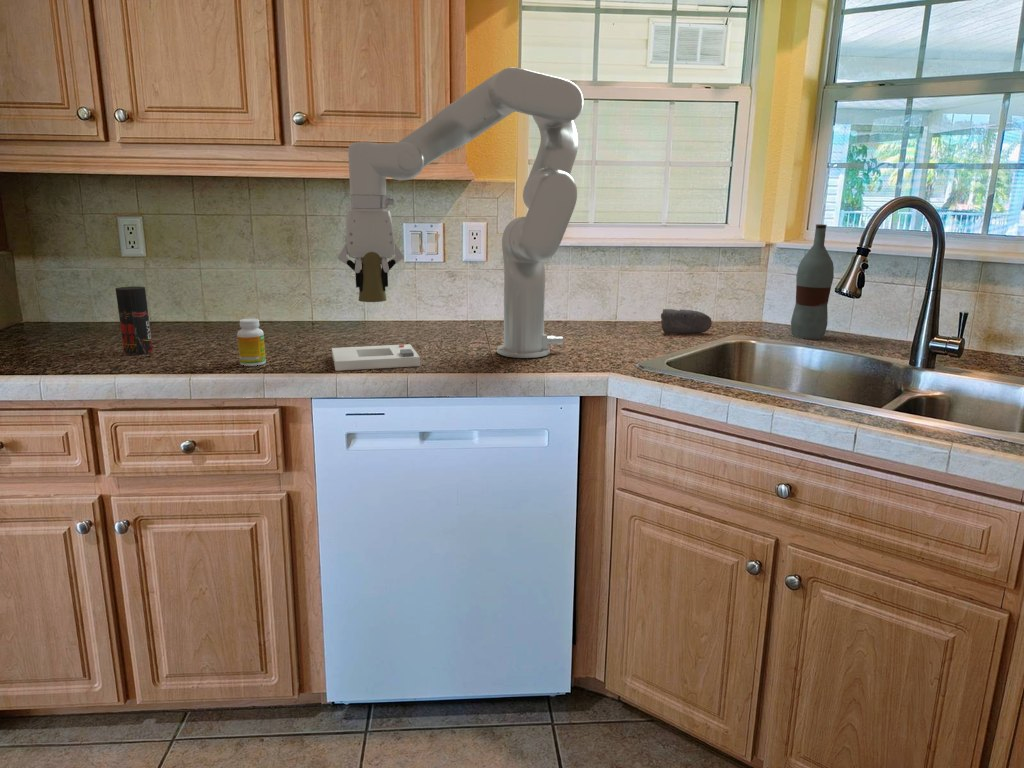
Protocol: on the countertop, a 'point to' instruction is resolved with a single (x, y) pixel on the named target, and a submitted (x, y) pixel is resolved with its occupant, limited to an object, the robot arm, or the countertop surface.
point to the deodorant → (134, 320)
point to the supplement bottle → (251, 343)
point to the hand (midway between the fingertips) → (372, 289)
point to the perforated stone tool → (684, 321)
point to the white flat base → (374, 357)
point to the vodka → (813, 290)
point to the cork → (372, 279)
